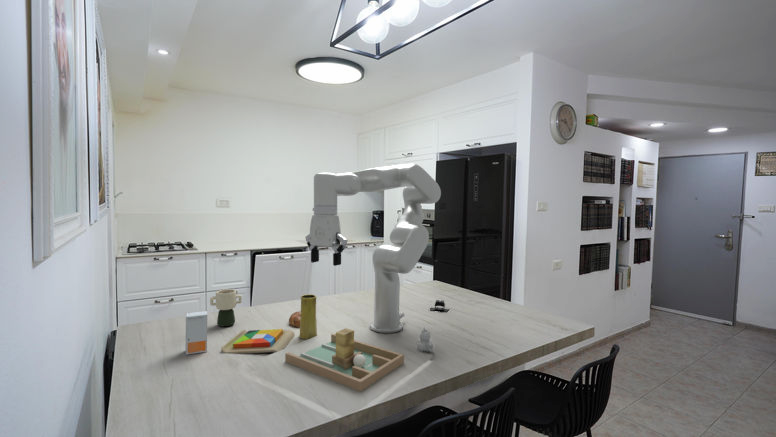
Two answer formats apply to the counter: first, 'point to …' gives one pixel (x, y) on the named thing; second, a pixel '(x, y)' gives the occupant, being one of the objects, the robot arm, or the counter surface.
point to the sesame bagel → (295, 319)
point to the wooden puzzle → (258, 341)
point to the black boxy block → (439, 303)
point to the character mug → (226, 306)
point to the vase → (308, 317)
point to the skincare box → (196, 332)
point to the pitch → (353, 377)
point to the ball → (359, 360)
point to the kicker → (344, 348)
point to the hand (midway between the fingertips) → (325, 263)
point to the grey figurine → (425, 342)
